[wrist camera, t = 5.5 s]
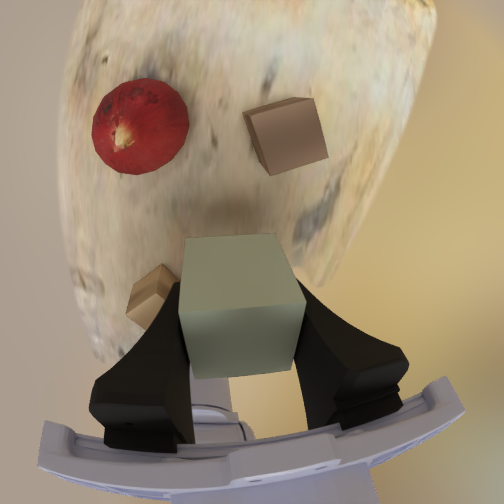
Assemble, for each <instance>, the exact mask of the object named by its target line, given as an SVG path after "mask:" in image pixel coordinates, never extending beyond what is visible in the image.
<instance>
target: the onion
mask: <svg viewBox="0 0 504 504" xmlns="http://www.w3.org/2000/svg"><path fill="white" fill-rule="evenodd" d="M188 129H189V119H188V112H187V106H186V105H185V103H184V102H183V100H182V98H181V97H180V95H179V94H178V92H177V91H175V90H174V89H173V88H171V87H170V86H169V85H167V84H166V83H165V82H162V81H158V80H153V79H148V78H143V79H138V80H133V81H128V82H125V83H122V84H120V85H119V86H118V87H116V88H115V89H114V90H112V91H111V92H110V93H108V94H107V95H106V96H104V98H103V99H102V101H101V103H100V105H99V107H98V109H97V111H96V113H95V115H94V117H93V125H92V139H93V143H94V147H95V151H96V152H97V154H98V155H99V156H100V158H101V159H102V160H103V161H104V163H105V164H107V165H108V166H110V167H111V168H112V169H114V170H115V171H117V172H118V173H125V174H133V175H140V174H144V173H148V172H152V171H155V170H157V169H159V168H160V167H162V166H163V165H165V164H166V163H168V162H169V161H171V160H172V159H173V158H174V156H175V155H176V154H177V152H178V151H179V150H180V149H181V147H182V146H183V145H184V142H185V139H186V135H187V132H188Z"/></svg>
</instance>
